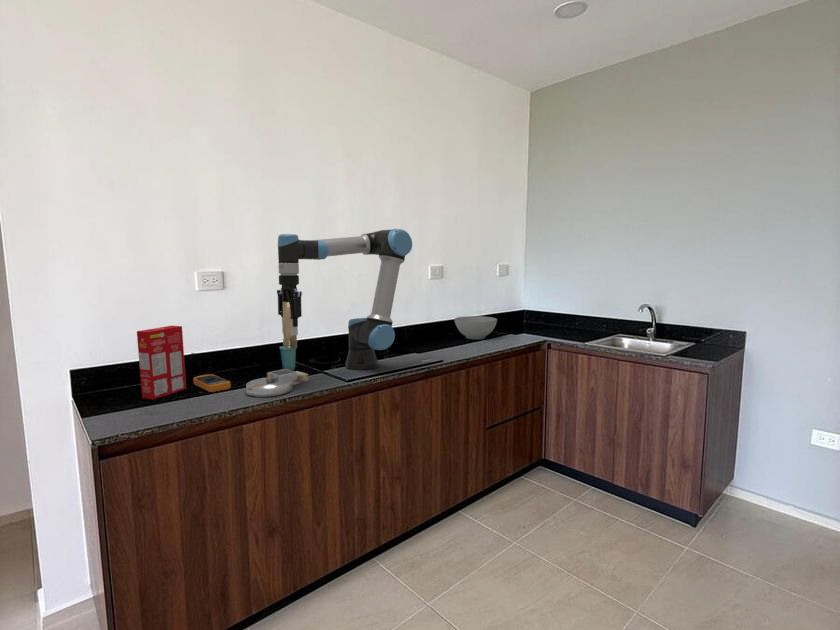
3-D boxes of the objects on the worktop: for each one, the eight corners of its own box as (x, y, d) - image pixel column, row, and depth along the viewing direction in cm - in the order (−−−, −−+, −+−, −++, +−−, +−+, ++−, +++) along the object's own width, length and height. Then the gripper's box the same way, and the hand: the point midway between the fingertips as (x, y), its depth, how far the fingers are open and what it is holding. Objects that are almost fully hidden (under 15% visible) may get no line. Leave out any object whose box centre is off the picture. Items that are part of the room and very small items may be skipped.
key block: (297, 377, 196) (297, 371, 196) (308, 381, 191) (308, 374, 191) (280, 381, 191) (280, 374, 190) (291, 385, 185) (291, 378, 185)
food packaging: (176, 387, 183) (171, 325, 179) (186, 388, 181) (181, 326, 178) (142, 398, 169) (136, 331, 166) (152, 399, 167) (147, 332, 164)
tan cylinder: (292, 345, 184) (291, 300, 182) (299, 347, 181) (298, 301, 179) (281, 347, 180) (280, 301, 178) (288, 348, 177) (287, 302, 175)
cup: (306, 370, 209) (304, 338, 207) (291, 373, 203) (289, 340, 201) (289, 365, 218) (287, 334, 216) (274, 368, 213) (272, 336, 211)
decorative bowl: (474, 332, 310) (474, 315, 309) (505, 338, 290) (505, 319, 289) (445, 337, 293) (445, 318, 292) (476, 343, 273) (476, 323, 271)
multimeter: (213, 381, 193) (212, 373, 193) (232, 389, 181) (231, 381, 181) (191, 385, 187) (191, 376, 187) (209, 394, 175) (209, 385, 174)
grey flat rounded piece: (280, 381, 190) (279, 367, 189) (303, 388, 179) (303, 373, 178) (238, 390, 177) (237, 375, 176) (261, 399, 166) (260, 383, 165)
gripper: (267, 274, 180) (269, 332, 183) (293, 275, 169) (295, 337, 171) (284, 273, 186) (285, 330, 189) (310, 275, 174) (311, 335, 177)
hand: (290, 334), depth 180 cm, fingers closed on tan cylinder, 5 cm apart
